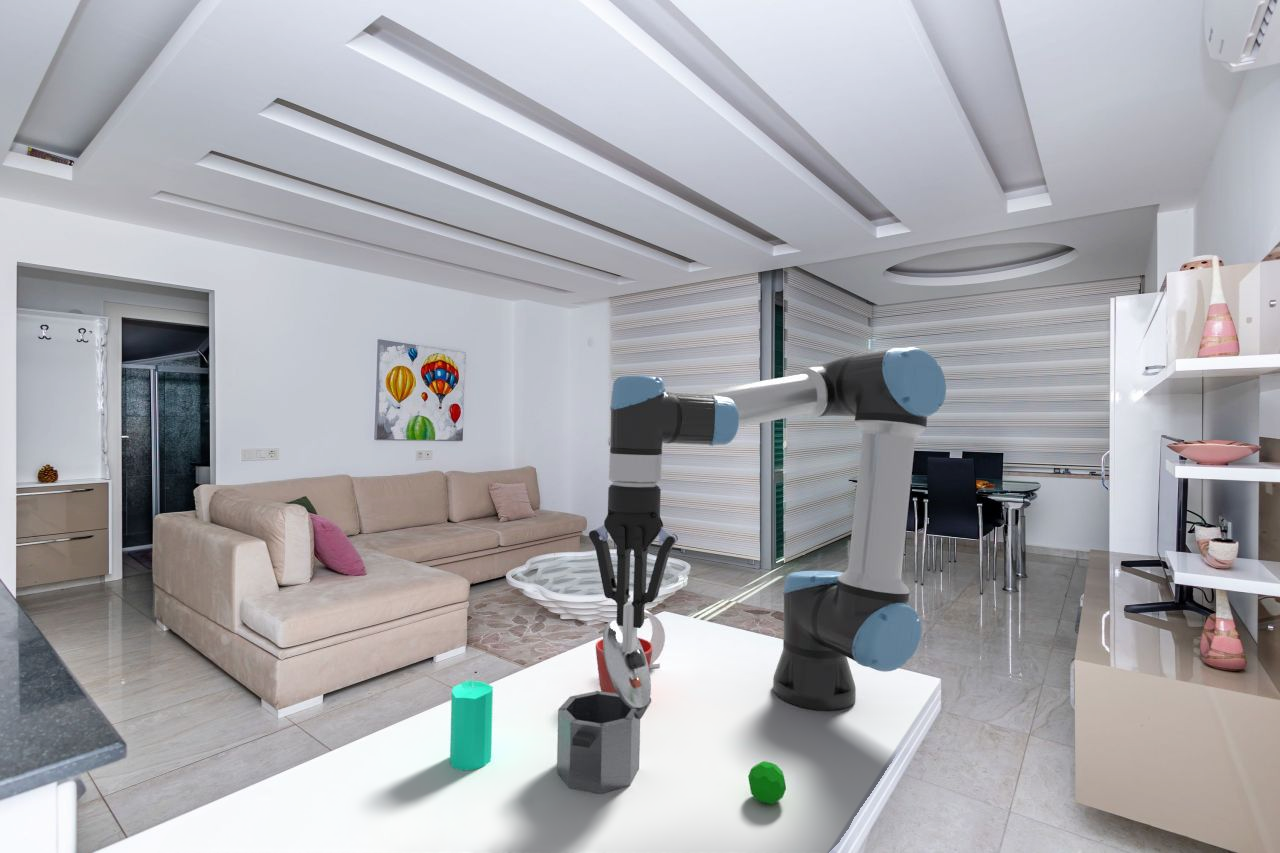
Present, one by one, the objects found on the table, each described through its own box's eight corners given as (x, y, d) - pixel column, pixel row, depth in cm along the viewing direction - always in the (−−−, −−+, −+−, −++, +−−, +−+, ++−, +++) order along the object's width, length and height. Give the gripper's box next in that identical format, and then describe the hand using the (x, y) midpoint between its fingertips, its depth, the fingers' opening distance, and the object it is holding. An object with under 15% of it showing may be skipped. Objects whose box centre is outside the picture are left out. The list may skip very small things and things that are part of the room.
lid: (651, 695, 95) (671, 688, 94) (628, 732, 83) (650, 725, 82) (618, 612, 97) (636, 604, 96) (590, 637, 85) (611, 629, 84)
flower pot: (653, 686, 121) (654, 636, 121) (649, 712, 110) (650, 656, 110) (599, 683, 122) (600, 633, 122) (589, 708, 111) (590, 653, 111)
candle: (447, 753, 94) (449, 673, 94) (487, 746, 97) (489, 668, 97) (452, 773, 89) (454, 689, 89) (495, 765, 91) (496, 683, 91)
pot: (648, 751, 96) (649, 692, 96) (618, 806, 82) (620, 737, 82) (581, 740, 99) (582, 683, 99) (541, 791, 85) (542, 725, 85)
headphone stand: (629, 662, 133) (630, 606, 133) (655, 659, 135) (656, 603, 135) (638, 670, 129) (639, 612, 129) (664, 666, 131) (665, 609, 131)
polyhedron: (793, 804, 83) (794, 768, 83) (766, 815, 81) (767, 778, 81) (766, 785, 87) (767, 751, 88) (740, 796, 85) (741, 761, 85)
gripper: (684, 484, 92) (679, 646, 91) (600, 480, 95) (595, 636, 95) (673, 488, 84) (667, 663, 84) (583, 483, 88) (577, 652, 87)
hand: (629, 649), depth 89 cm, fingers closed
